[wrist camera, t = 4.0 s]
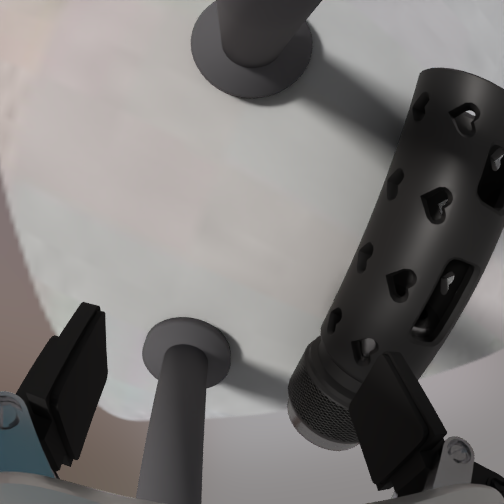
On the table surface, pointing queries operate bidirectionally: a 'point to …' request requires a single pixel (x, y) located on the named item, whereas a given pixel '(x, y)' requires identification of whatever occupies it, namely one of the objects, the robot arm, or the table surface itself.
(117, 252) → the table surface
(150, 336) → the cord post
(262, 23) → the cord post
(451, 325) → the muzzle brake
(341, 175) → the table surface
